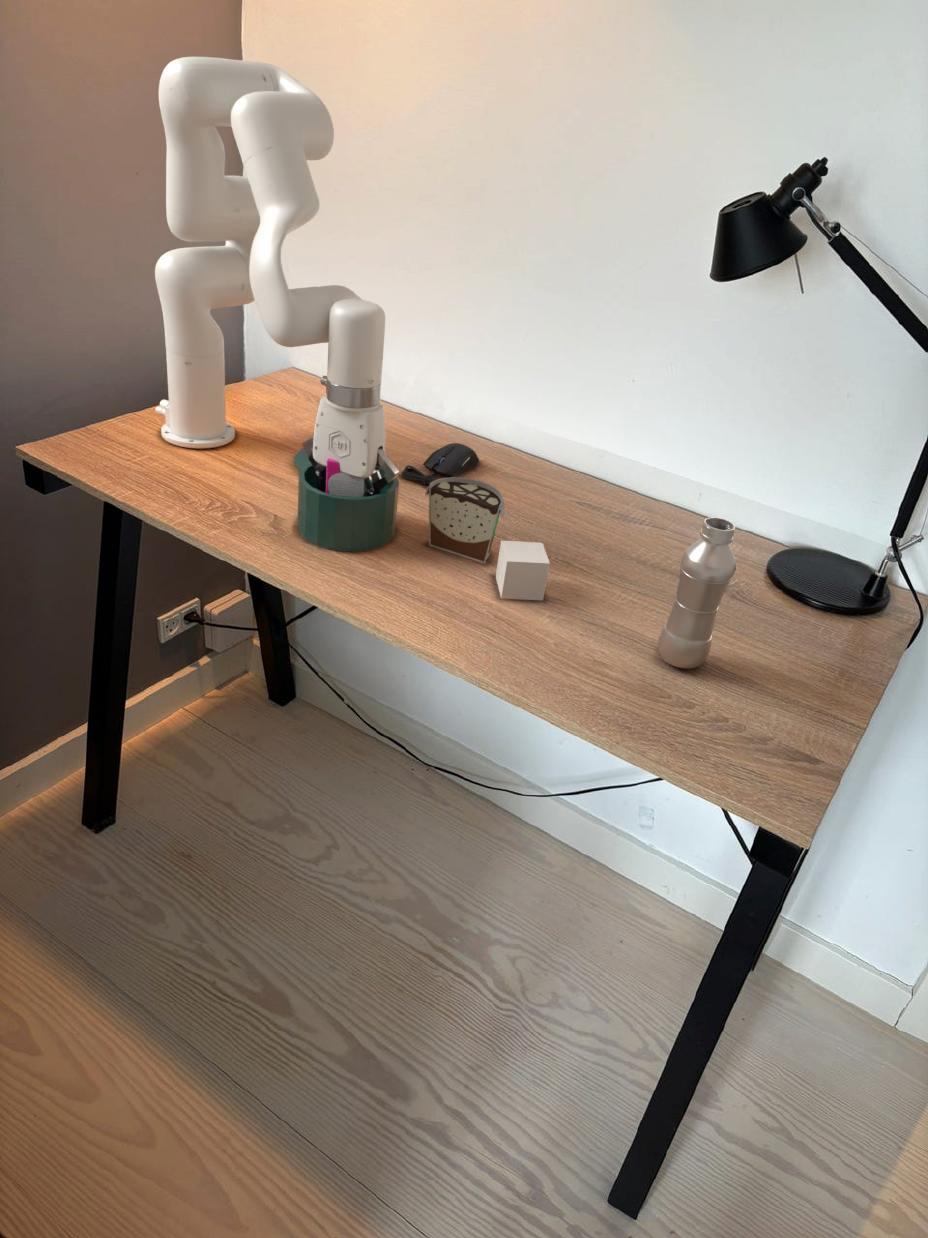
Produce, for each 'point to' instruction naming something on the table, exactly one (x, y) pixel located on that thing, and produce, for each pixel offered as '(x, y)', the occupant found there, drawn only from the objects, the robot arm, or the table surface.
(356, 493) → the supplement box
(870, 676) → the table surface
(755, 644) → the table surface
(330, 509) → the tin
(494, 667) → the table surface
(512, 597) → the white cube
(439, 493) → the food container
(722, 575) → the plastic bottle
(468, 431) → the table surface
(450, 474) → the computer mouse
